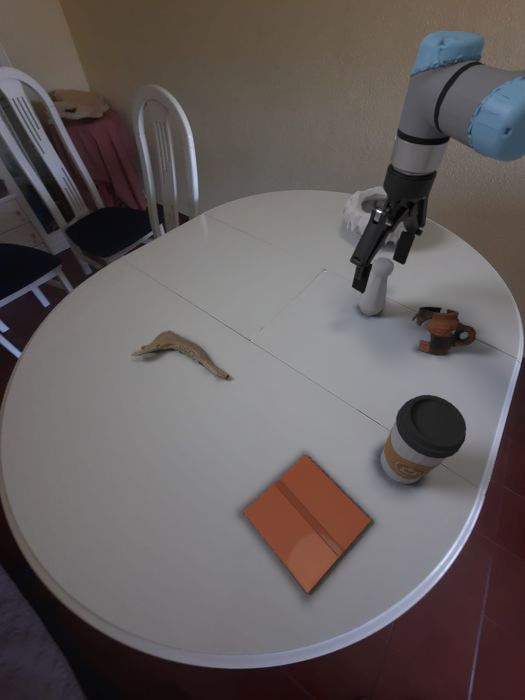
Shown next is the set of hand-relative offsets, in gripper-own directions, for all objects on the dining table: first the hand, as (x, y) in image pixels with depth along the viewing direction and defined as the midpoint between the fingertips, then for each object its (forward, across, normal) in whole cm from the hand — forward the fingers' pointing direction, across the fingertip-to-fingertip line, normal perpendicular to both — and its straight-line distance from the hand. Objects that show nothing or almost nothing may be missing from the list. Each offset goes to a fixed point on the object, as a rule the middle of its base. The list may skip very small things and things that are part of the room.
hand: (379, 275), depth 70 cm
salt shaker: (+10, 0, 0) cm, 10 cm away
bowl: (+10, -27, -18) cm, 34 cm away
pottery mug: (+10, -3, +15) cm, 18 cm away
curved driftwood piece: (+10, +41, -15) cm, 45 cm away
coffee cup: (+10, +25, +26) cm, 37 cm away
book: (+9, +42, +21) cm, 48 cm away
